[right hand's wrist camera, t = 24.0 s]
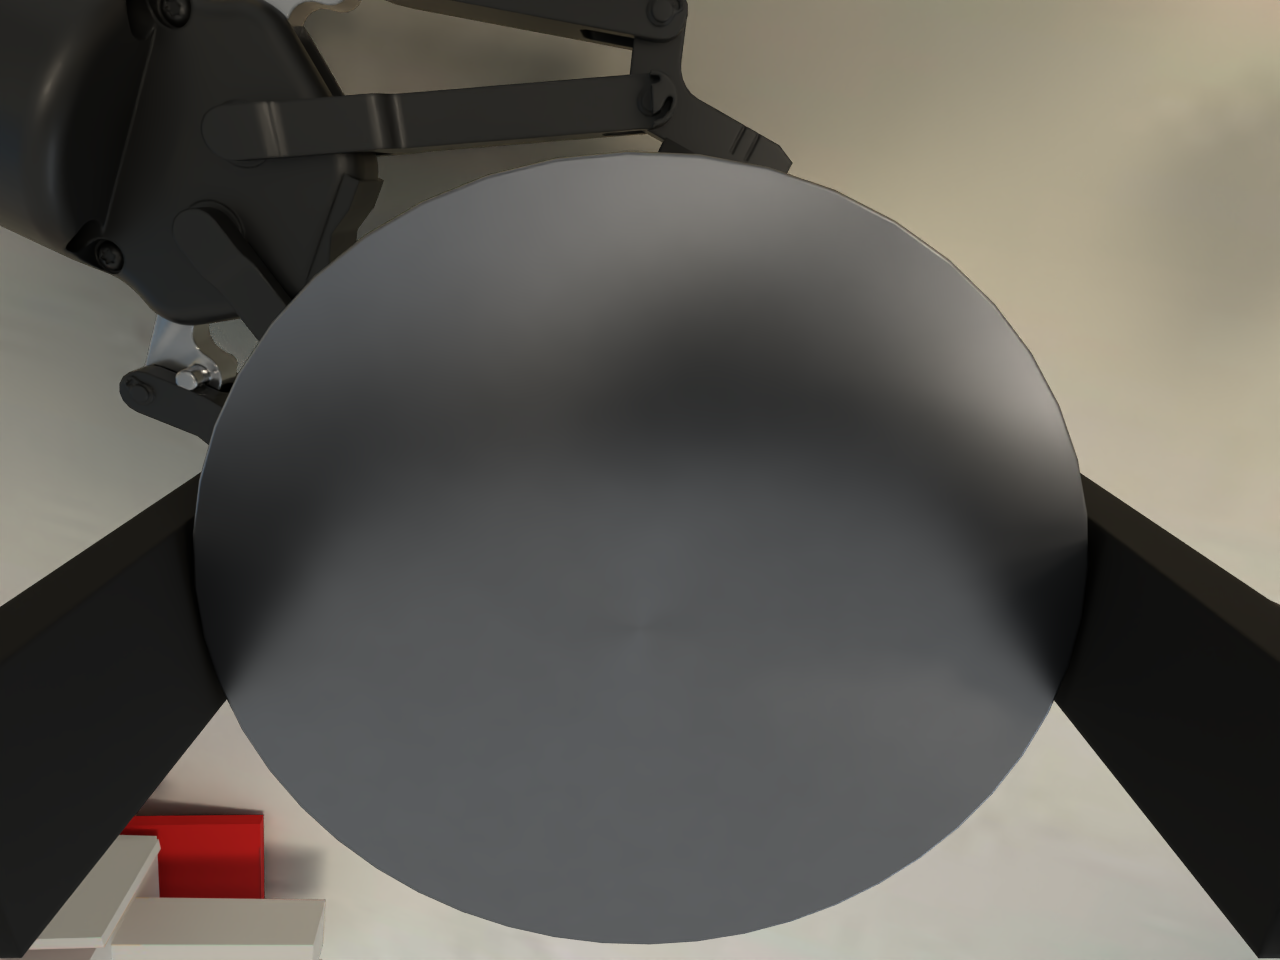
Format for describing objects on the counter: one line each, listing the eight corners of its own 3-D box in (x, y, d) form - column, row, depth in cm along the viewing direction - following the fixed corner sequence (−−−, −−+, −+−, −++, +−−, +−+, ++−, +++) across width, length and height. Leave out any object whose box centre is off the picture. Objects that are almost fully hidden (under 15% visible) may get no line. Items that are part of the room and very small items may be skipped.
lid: (961, 30, 9) (1038, -3, 8) (1056, 763, 13) (1122, 855, 12) (114, 303, 11) (8, 329, 9) (431, 903, 14) (402, 1007, 13)
